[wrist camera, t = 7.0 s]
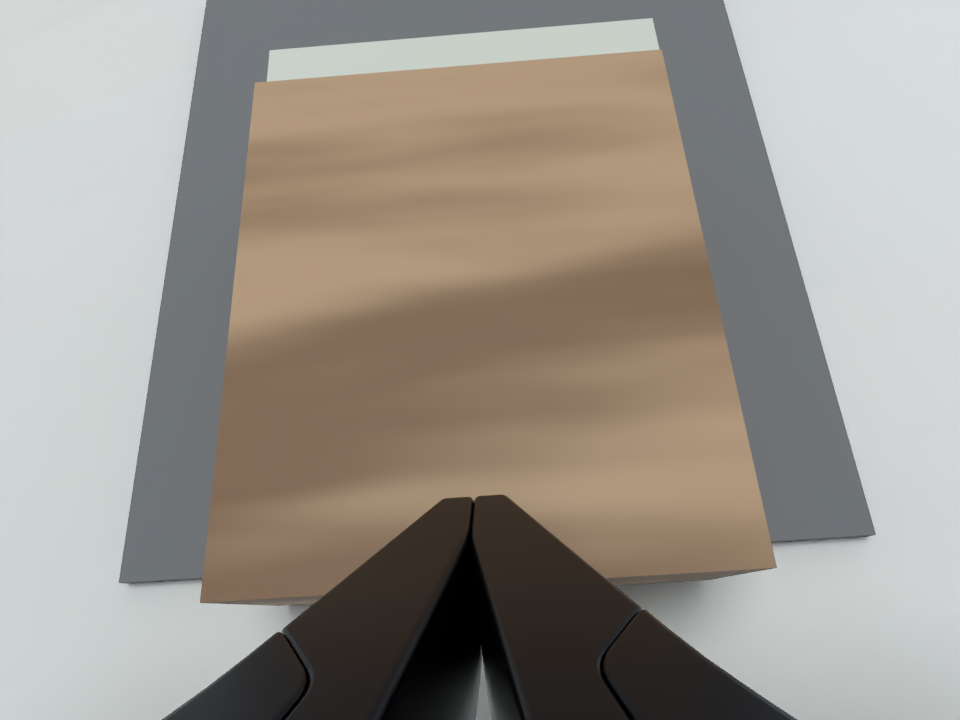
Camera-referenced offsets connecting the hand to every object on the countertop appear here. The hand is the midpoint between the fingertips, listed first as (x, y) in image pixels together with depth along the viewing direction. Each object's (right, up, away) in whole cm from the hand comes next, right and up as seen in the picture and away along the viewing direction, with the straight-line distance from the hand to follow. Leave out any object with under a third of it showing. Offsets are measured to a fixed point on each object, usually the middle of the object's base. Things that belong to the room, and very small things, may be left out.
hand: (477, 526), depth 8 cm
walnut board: (0, -2, +4) cm, 5 cm away
